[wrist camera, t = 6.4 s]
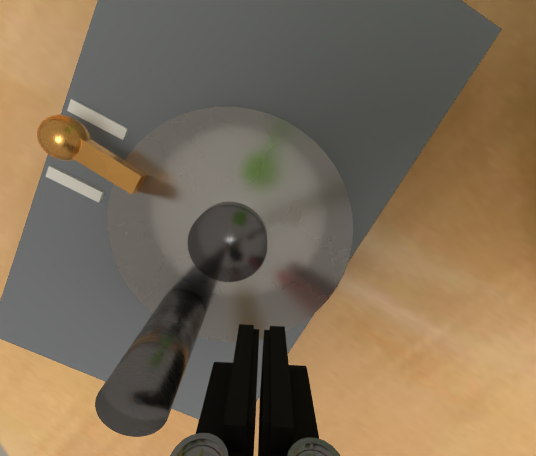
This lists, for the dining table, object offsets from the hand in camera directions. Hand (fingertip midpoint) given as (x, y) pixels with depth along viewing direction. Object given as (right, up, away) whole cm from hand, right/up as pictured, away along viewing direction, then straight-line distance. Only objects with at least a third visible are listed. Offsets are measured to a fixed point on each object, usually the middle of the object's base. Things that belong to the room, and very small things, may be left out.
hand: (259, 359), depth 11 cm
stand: (-2, +7, +4) cm, 8 cm away
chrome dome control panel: (-2, +5, +2) cm, 6 cm away
